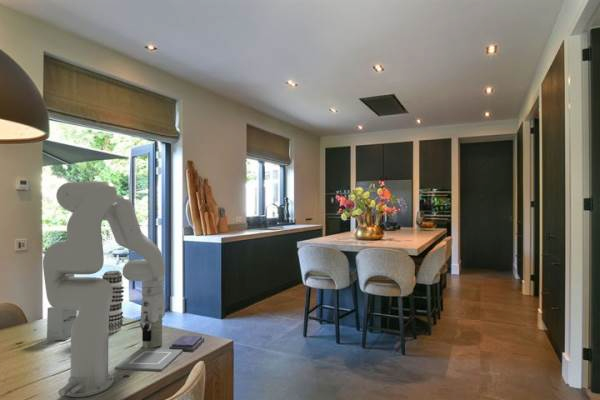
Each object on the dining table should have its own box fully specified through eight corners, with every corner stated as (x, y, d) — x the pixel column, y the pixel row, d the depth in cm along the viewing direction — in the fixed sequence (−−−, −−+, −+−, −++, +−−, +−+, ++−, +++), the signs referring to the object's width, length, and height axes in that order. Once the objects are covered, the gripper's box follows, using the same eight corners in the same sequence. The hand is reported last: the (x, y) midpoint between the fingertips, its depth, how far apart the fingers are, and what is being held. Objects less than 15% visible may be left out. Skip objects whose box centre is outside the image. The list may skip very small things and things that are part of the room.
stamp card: (161, 370, 115) (161, 368, 115) (114, 368, 117) (114, 366, 117) (183, 351, 131) (183, 349, 131) (141, 349, 132) (141, 347, 133)
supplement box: (61, 340, 142) (62, 308, 143) (46, 339, 144) (46, 307, 144) (76, 334, 149) (77, 303, 150) (61, 333, 151) (62, 302, 151)
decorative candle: (94, 331, 152) (95, 272, 153) (113, 325, 161) (114, 269, 162) (109, 334, 149) (110, 274, 150) (128, 327, 157) (128, 270, 158)
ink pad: (193, 350, 131) (193, 345, 131) (169, 349, 132) (169, 344, 132) (204, 340, 142) (204, 335, 142) (181, 339, 143) (181, 335, 143)
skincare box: (158, 342, 140) (159, 310, 140) (162, 345, 137) (162, 313, 137) (141, 346, 136) (142, 313, 136) (145, 349, 133) (145, 316, 133)
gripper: (150, 295, 128) (149, 346, 127) (172, 285, 145) (172, 329, 145) (130, 295, 129) (129, 345, 128) (154, 285, 146) (154, 329, 145)
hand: (152, 336), depth 136 cm, fingers closed on skincare box, 7 cm apart
